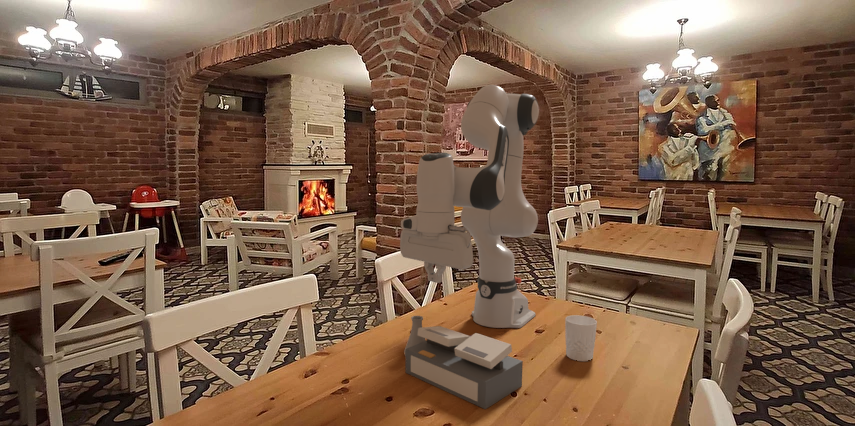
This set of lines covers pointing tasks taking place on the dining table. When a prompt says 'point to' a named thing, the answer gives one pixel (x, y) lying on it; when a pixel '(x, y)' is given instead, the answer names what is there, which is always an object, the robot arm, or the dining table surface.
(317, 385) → the dining table surface
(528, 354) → the dining table surface
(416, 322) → the flask
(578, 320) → the white cup
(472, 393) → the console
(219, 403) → the dining table surface
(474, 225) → the robot arm
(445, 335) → the switch
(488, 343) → the switch
